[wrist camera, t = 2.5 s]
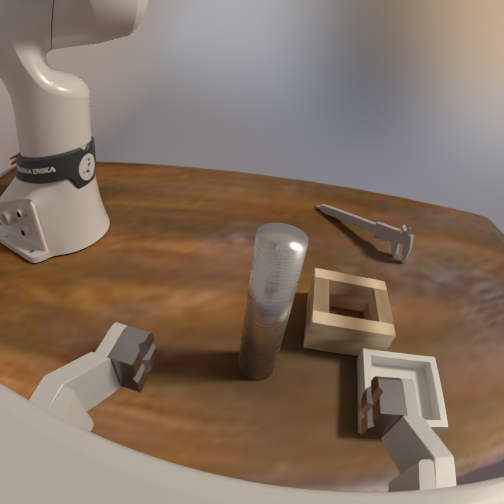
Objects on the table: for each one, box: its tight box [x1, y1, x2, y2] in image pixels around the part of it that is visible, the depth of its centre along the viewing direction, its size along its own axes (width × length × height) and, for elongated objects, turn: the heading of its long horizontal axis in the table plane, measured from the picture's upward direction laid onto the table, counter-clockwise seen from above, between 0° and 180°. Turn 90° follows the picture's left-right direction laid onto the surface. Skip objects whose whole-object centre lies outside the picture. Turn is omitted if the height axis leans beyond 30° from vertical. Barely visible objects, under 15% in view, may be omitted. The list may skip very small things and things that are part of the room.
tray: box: [357, 348, 448, 436], centre depth 28 cm, size 9×9×2 cm
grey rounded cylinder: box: [238, 223, 308, 380], centre depth 27 cm, size 4×4×15 cm
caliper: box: [316, 204, 414, 263], centre depth 53 cm, size 20×1×6 cm, turn 38°
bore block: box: [303, 268, 396, 356], centre depth 35 cm, size 9×9×4 cm
